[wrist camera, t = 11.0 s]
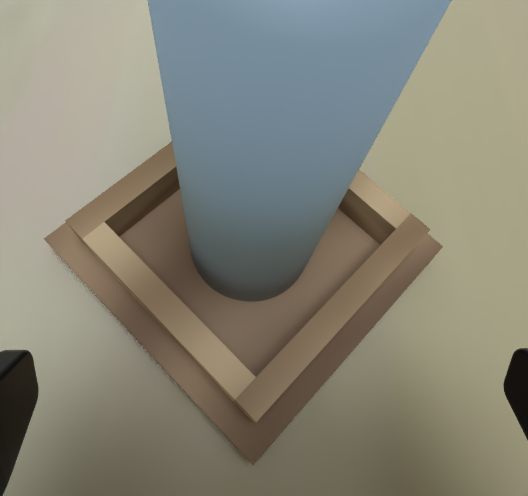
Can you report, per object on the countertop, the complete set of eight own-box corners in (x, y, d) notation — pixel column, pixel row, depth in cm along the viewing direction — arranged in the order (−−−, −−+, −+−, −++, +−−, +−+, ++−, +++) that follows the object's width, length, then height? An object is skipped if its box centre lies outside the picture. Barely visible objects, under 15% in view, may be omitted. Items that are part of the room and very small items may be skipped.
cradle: (431, 256, 20) (464, 230, 18) (250, 461, 17) (256, 470, 14) (249, 101, 23) (253, 56, 20) (54, 249, 19) (25, 220, 16)
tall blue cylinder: (323, 216, 19) (493, -123, 7) (285, 320, 17) (430, 93, 5) (219, 176, 20) (217, -216, 8) (170, 274, 18) (64, -41, 6)
